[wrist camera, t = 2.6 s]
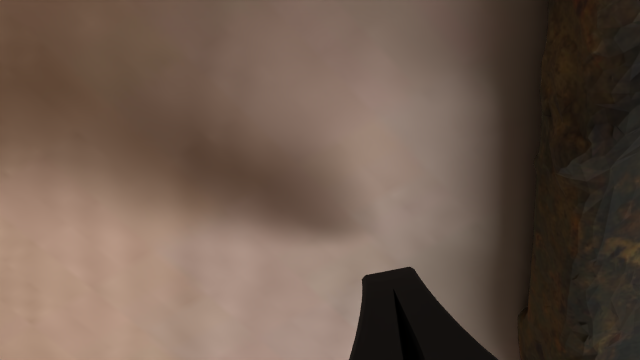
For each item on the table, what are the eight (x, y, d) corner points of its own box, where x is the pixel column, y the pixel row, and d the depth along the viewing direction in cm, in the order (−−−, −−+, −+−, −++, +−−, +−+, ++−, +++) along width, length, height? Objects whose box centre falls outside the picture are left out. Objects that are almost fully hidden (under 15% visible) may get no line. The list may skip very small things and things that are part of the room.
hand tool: (512, -143, 11) (635, -174, 7) (690, -160, 11) (913, -202, 7) (469, 415, 20) (513, 543, 16) (568, 405, 20) (638, 530, 16)
